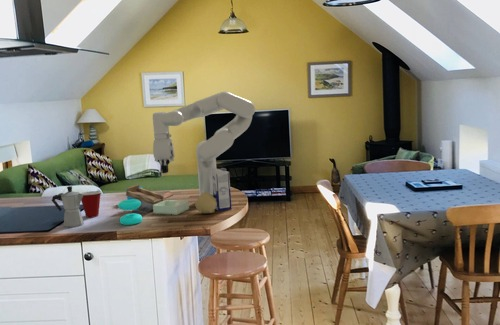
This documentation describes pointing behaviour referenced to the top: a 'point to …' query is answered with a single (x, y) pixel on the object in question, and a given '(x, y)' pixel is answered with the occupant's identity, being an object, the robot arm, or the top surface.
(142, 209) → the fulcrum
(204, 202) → the yellow rounded lump
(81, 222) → the coffee maker
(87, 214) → the plastic cup
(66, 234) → the top surface
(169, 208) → the tray
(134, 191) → the chute
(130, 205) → the donuts
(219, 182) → the milk carton
